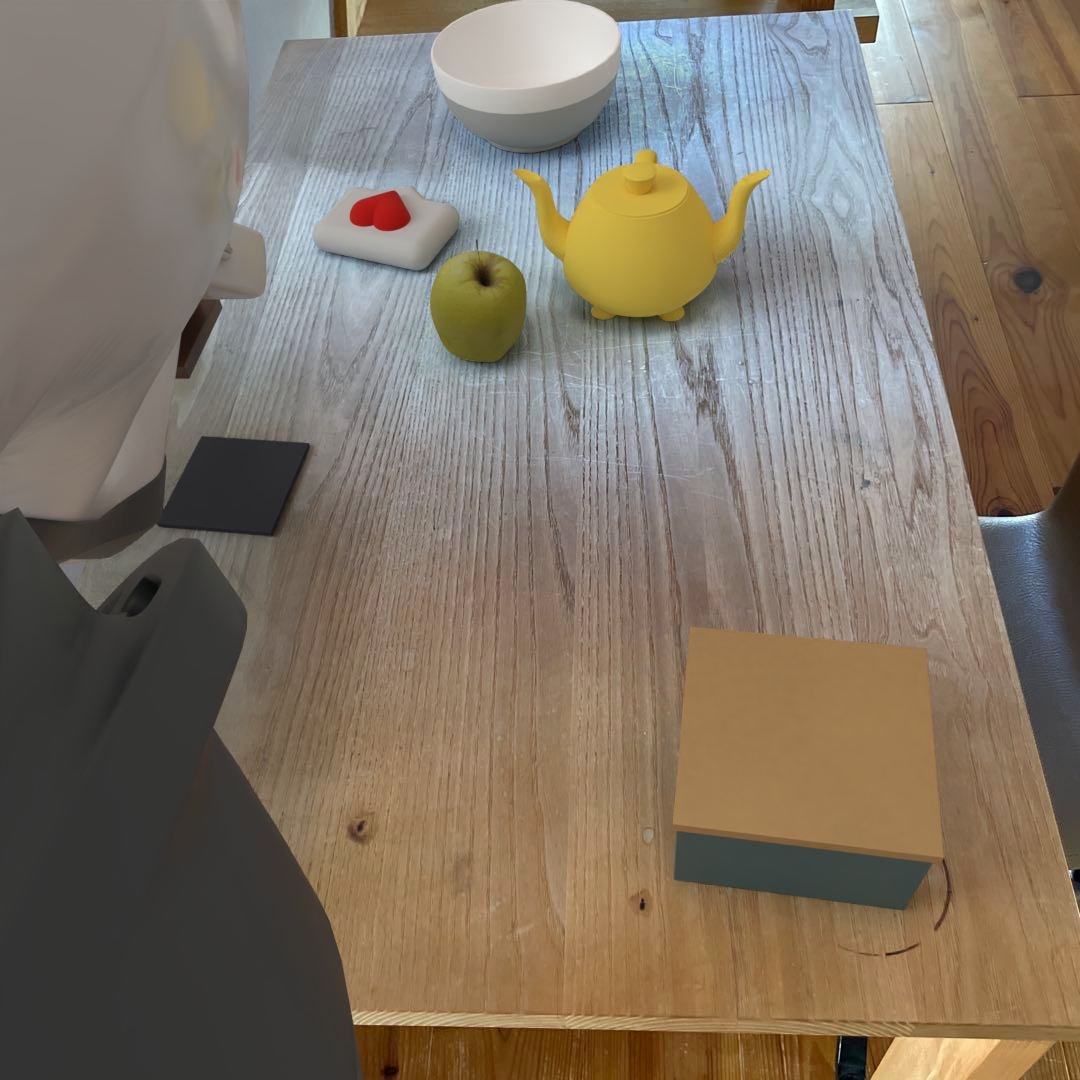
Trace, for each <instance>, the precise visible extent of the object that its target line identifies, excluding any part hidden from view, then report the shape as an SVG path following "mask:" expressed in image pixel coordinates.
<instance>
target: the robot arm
mask: <svg viewBox="0 0 1080 1080" xmlns="http://www.w3.org/2000/svg"><path fill="white" fill-rule="evenodd" d="M242 7H243V6H242V1H241V0H0V1080H365V1074H364V1071H363V1070H364V1069H363V1066H362V1061H361V1056H360V1051H359V1046H358V1041H357V1035H356V1030H355V1025H354V1023H355V1022H354V1018H353V1013H352V1009H351V1003H350V998H349V991H348V986H347V981H346V976H345V975H346V974H345V971H344V964H343V960H342V957H341V953H340V950H339V946H338V943H337V941H336V937H335V933H334V930H333V927H332V924H331V921H330V919H329V917H328V914H327V913H326V910H325V908H324V906H323V904H322V902H321V900H320V898H319V896H318V894H317V892H316V891H315V889H314V887H313V886H312V884H311V882H310V880H309V879H308V877H307V876H306V874H305V872H304V871H303V869H302V867H301V865H300V864H299V862H298V860H297V858H296V857H295V855H294V853H293V852H292V849H291V848H290V846H289V844H288V842H287V841H286V839H285V838H284V836H283V835H282V832H281V831H280V829H279V828H278V826H277V824H276V823H275V821H274V820H273V818H272V816H271V815H270V813H269V811H268V810H267V809H266V807H265V806H264V804H263V802H262V800H261V799H260V797H259V796H258V794H257V793H256V790H255V788H253V786H252V784H251V783H250V781H249V779H248V778H247V776H246V775H245V773H244V771H243V769H242V768H241V766H240V765H239V763H238V762H237V761H236V759H235V758H234V756H233V755H232V753H231V752H230V750H229V748H228V747H227V746H226V745H225V743H224V742H223V740H222V739H221V737H220V735H219V734H218V732H217V731H216V730H215V728H214V727H215V725H216V722H217V719H218V717H219V714H220V711H221V709H222V706H223V704H224V700H225V698H226V695H227V693H228V690H229V687H230V684H231V682H232V679H233V677H234V674H235V671H236V669H237V666H238V663H239V660H240V657H241V653H242V651H243V648H244V643H245V639H246V634H247V631H248V611H247V608H246V606H245V602H244V601H243V600H242V598H241V597H240V595H239V594H238V592H237V591H236V590H235V588H234V587H233V586H232V584H231V583H230V581H229V580H228V578H227V577H226V575H225V574H224V573H223V570H221V568H220V567H219V565H218V564H217V562H216V561H215V560H214V558H213V557H212V555H211V554H210V552H209V551H208V550H207V548H206V546H205V545H204V544H203V542H202V541H201V540H200V539H199V538H197V537H180V538H178V539H175V540H173V541H172V542H170V543H168V544H166V545H164V546H163V547H161V548H159V549H158V550H157V551H155V552H154V553H153V554H151V555H150V556H149V557H148V558H147V559H145V560H144V561H143V562H142V563H140V565H139V566H137V567H136V568H135V569H134V570H133V571H131V573H130V574H129V575H128V576H127V577H126V578H124V580H123V581H122V582H120V584H118V586H116V588H115V589H114V590H113V591H112V592H111V593H110V594H109V595H108V597H106V599H104V600H103V601H102V603H101V604H100V605H99V606H98V607H97V608H96V609H95V608H94V607H93V606H92V605H91V604H90V603H89V602H88V601H87V600H86V598H85V597H84V596H83V595H82V594H81V593H80V592H79V590H78V589H77V588H76V586H75V585H74V584H73V582H72V581H71V580H70V578H69V577H68V575H67V574H66V573H65V572H64V570H63V569H62V567H61V565H62V566H64V565H73V564H78V563H80V564H81V563H83V562H88V561H92V560H103V559H110V558H111V557H113V556H116V555H117V554H119V553H121V552H122V551H124V550H126V549H127V548H129V547H130V546H131V545H132V544H133V545H134V543H136V542H137V541H138V540H140V538H142V537H143V536H144V535H145V534H146V533H148V532H149V531H150V530H151V529H152V528H153V527H155V526H156V525H157V524H156V523H157V522H158V521H159V520H160V519H161V518H162V516H163V510H164V508H165V506H164V505H165V489H166V477H167V455H166V449H167V442H168V435H169V427H170V419H171V412H172V405H173V398H174V390H175V384H176V383H175V382H176V379H175V377H176V369H177V362H178V355H179V347H180V340H181V333H182V331H183V329H184V328H185V326H186V324H187V322H188V321H189V319H190V317H191V316H192V314H193V313H194V311H195V309H196V308H197V306H198V304H199V302H200V301H201V299H220V300H253V299H256V298H259V297H261V296H262V295H263V294H265V293H264V292H265V290H266V285H267V253H266V252H267V251H266V244H265V243H266V242H265V239H264V237H263V234H261V233H260V232H259V231H258V230H257V229H256V230H255V229H254V228H251V227H248V226H246V225H243V224H240V223H238V222H234V221H235V218H236V213H237V210H238V207H239V203H240V199H241V195H242V189H243V183H244V177H245V176H244V175H245V168H246V163H247V162H246V161H247V156H248V155H247V154H248V148H249V147H248V146H249V140H250V81H249V80H250V79H249V78H250V77H249V59H248V51H247V41H246V32H245V26H244V15H243V9H242Z"/></svg>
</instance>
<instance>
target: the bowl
mask: <svg viewBox="0 0 1080 1080" xmlns="http://www.w3.org/2000/svg"><path fill="white" fill-rule="evenodd" d="M622 40H623V35H622V32H621V28H620V26H619V25H618V23H617V22H616V20H615V19H614V18H613V17H612V16H611V15H609V14H608V13H607V12H605V11H604V10H601V9H599V8H597V7H594V6H593V5H589V4H586V3H584V2H583V3H582V2H579V1H574V0H512V1H505V2H501V3H496V4H493V5H489V6H486V7H483V8H480V9H476V10H473V11H472V12H469V13H467V14H465V15H463V16H461V17H459V18H457V19H455V20H454V21H452V22H451V23H450V24H448V25H447V26H446V27H445V28H443V29H442V30H441V31H440V32H439V34H438V35H437V36H436V37H435V39H434V41H433V43H432V45H431V48H430V61H431V65H432V68H433V73H434V77H435V81H436V83H437V86H438V88H439V90H440V92H441V94H442V97H443V99H444V102H445V104H446V105H447V108H448V111H450V112H451V114H452V115H453V116H454V117H455V118H456V119H457V120H458V121H459V122H461V124H462V125H463V126H464V128H466V129H467V130H468V131H469V132H470V133H472V134H473V135H475V136H476V137H478V138H480V139H483V140H486V141H487V142H488V143H489V144H490V145H492V146H494V147H495V148H496V149H500V150H502V151H507V152H510V153H511V152H512V153H518V154H519V153H522V154H526V153H527V154H528V153H529V154H533V153H541V152H545V151H550V150H554V149H556V148H559V147H562V146H564V145H566V144H568V143H570V142H571V141H573V140H574V139H575V138H577V137H578V136H579V135H580V134H581V132H582V131H583V130H584V129H586V128H587V127H588V126H590V125H591V124H592V123H593V122H594V121H595V120H596V119H597V118H598V117H599V115H600V114H601V113H602V110H603V109H604V108H605V106H606V105H607V103H608V102H609V101H610V98H611V96H612V95H613V93H614V91H615V87H616V82H617V77H618V73H619V70H620V66H621V65H620V64H621V58H622V57H621V56H622V54H621V53H622Z"/></svg>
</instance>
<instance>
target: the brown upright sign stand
mask: <svg viewBox="0 0 1080 1080" xmlns="http://www.w3.org/2000/svg"><path fill="white" fill-rule="evenodd" d="M223 308H224V307H223V304H222V303H221V299H201V301H200V302H199V304H198V306H197V308H196V309H195V311H194V313H193V314H192V316H191V317H190V319H189V321H188V322H187V324H186V326H185V328H184V329H183V331H182V333H181V340H180V347H179V355H178V362H177V369H176V377H175V380H177V379H178V380H189V379H191V376H192V374H193V372H194V370H195V368H196V366H197V364H198V362H199V359H200V357H201V355H202V353H203V351H204V349H205V347H206V345H207V343H208V340H209V338H210V336H211V334H212V332H213V330H214V327H215V325H216V323H217V321H218V319H219V317H220V315H221V312H222V310H223Z"/></svg>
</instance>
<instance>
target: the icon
mask: <svg viewBox="0 0 1080 1080" xmlns="http://www.w3.org/2000/svg"><path fill="white" fill-rule="evenodd" d="M460 223H461V218H460V213H459V211H458V210H457V208H456V207H455V206H454V205H452V204H450V203H446V202H441V201H436V200H431V199H426V198H425V197H424V196H423V195H422V194H421V193H420V192H419V191H418V189H416V188H415V187H414V186H413V185H405V186H400V187H395V188H389V189H385V190H376V189H371V188H367V187H366V188H365V187H360V186H354V187H351V188H349V189H348V190H347V191H346V192H345V193H344V194H343V195H342V196H341V197H340V198H339V200H338V201H337V202H336V203H334V205H333V206H332V207H331V208H329V210H328V211H327V212H326V213H325V214H324V215H323V216H322V218H321V219H320V220H318V222H317V223H316V224H315V225H314V227H313V229H312V239H313V243H314V244H315V245H316V247H317V248H318V249H319V250H321V251H323V252H327V253H332V254H334V255H335V254H336V255H340V256H345V257H349V258H355V259H359V260H364V261H369V262H374V263H379V264H383V265H388V266H392V267H397V268H402V269H406V270H411V271H423V270H424V269H426V268H428V267H429V265H430V264H431V263H432V261H433V260H434V259H435V258H436V257H437V255H438V254H439V253H440V251H442V249H443V248H444V247H445V245H446V244H447V243H448V242H449V240H450V239H451V238H452V237H453V236H454V234H455V233H456V232H457V231H458V229H459V227H460Z"/></svg>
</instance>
